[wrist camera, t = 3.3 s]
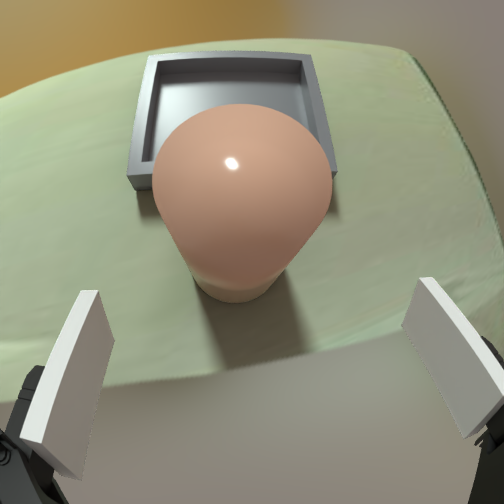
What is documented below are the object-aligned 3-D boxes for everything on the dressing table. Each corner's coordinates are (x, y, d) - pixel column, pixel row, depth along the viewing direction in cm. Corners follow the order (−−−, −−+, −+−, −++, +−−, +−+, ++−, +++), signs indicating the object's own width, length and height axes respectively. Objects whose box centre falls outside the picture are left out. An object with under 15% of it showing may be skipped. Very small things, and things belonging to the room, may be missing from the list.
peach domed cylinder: (170, 259, 22) (117, 179, 11) (232, 198, 24) (237, 81, 12) (238, 322, 21) (251, 303, 10) (298, 254, 23) (363, 172, 11)
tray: (134, 190, 23) (126, 175, 21) (152, 73, 26) (148, 55, 24) (327, 186, 25) (337, 171, 22) (305, 72, 28) (310, 54, 25)
